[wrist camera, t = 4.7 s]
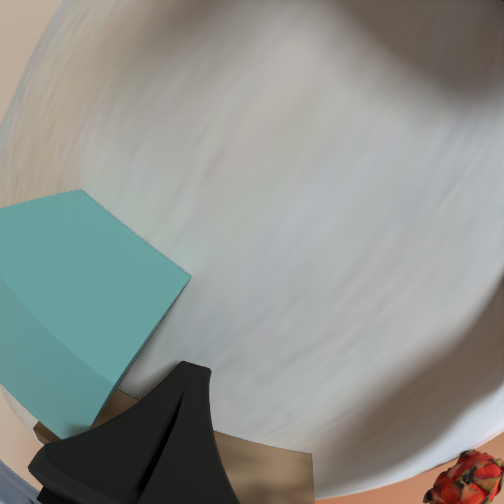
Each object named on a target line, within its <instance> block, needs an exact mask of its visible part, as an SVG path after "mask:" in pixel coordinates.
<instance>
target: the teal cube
mask: <svg viewBox="0 0 504 504" xmlns="http://www.w3.org/2000/svg"><path fill="white" fill-rule="evenodd" d="M190 278H191V275H189V274H188V273H186V272H185V271H184V270H182V269H181V268H180V267H178V266H177V265H176V264H174V263H173V262H172V261H170V260H169V259H168V258H166V257H165V256H164V255H162V254H161V253H160V252H158V251H157V250H156V249H154V248H153V247H152V246H150V245H149V244H148V243H146V242H145V241H144V240H143V239H141V238H140V237H139V236H138V235H136V234H135V233H134V232H132V231H131V230H130V229H129V228H127V227H126V226H125V225H124V224H122V223H121V222H120V221H119V220H117V219H116V218H115V217H114V216H112V215H111V214H110V213H109V212H108V211H106V210H105V209H104V208H103V207H101V206H100V205H99V204H98V203H97V202H95V201H94V200H93V199H92V198H91V197H90V196H88V195H87V194H86V193H85V192H84V191H83V190H81V189H80V190H75V191H70V192H66V193H61V194H56V195H52V196H47V197H43V198H39V199H35V200H31V201H27V202H23V203H19V204H15V205H12V206H8V207H5V208H1V209H0V383H1V384H2V385H3V386H4V387H5V388H6V389H7V390H8V391H9V393H10V394H11V395H12V396H13V397H14V398H15V399H16V400H17V401H18V402H19V403H20V404H21V405H22V406H23V407H25V408H26V409H27V410H28V411H29V412H30V413H31V414H32V415H33V416H34V417H35V418H36V419H38V420H39V421H40V422H41V423H42V424H43V425H45V426H46V427H47V428H48V429H49V430H51V431H52V432H53V433H54V434H56V435H57V436H58V437H59V438H61V439H65V438H69V437H72V436H75V435H78V434H80V433H83V432H85V431H88V430H90V429H91V428H92V427H93V425H94V423H95V422H96V420H97V419H98V417H99V416H100V414H101V412H102V411H103V409H104V408H105V406H106V405H107V403H108V401H109V400H110V398H111V397H112V395H113V394H114V392H115V391H116V389H117V388H118V386H119V385H120V383H121V381H122V380H123V378H124V377H125V375H126V374H127V372H128V371H129V369H130V368H131V366H132V365H133V363H134V362H135V360H136V359H137V357H138V356H139V354H140V353H141V351H142V349H143V348H144V346H145V345H146V343H147V342H148V340H149V339H150V337H151V336H152V334H153V333H154V331H155V330H156V328H157V327H158V325H159V324H160V322H161V321H162V319H163V318H164V316H165V315H166V313H167V312H168V310H169V309H170V307H171V306H172V304H173V303H174V301H175V300H176V298H177V297H178V295H179V294H180V292H181V291H182V290H183V288H184V287H185V285H186V284H187V282H188V281H189V279H190Z"/></svg>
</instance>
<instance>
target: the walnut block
mask: <svg viewBox="0 0 504 504" xmlns="http://www.w3.org/2000/svg"><path fill="white" fill-rule="evenodd" d="M138 402H139V400H137V399H135V398H133V397H131V396H129V395H127V394H126V393H124V392H122V391H120V390H118V389H116V391H115V392H114V394H113V395H112V397H111V398H110V400H109V401H108V403H107V405H106V406H105V408H104V409H103V411H102V412H101V414H100V416H99V417H98V419H97V420H96V422H95V423H94V425H93V427H92V428H91V429H93V428H95V427H97V426H100V425H102V424H104V423H105V422H107V421H109V420H111V419H113V418H115V417H117V416H118V415H120V414H121V413H123V412H125V411H126V410H128V409H129V408H131V407H132V406H133V405H135V404H136V403H138ZM33 430H34V432H35V434H36V436H37V438H38V440H39V441H40V442H42V443H43V444H44V445H45V444H46V443H49V442H54V441H58V440H61V438H59V437H58V436H57V435H56V434H54V433H53V432H52V431H51V430H49V429H48V428H47V427H46V426H45V425H43V424H42V423H41V422H40V421H38V423H37V424H36V425H35V427H34V428H33ZM213 432H214V437H215V441H216V445H217V448H218V452H219V455H220V458H221V461H222V464H223V467H224V469H225V472H226V474H227V477H228V479H229V482H230V484H231V486H232V488H233V490H234V492H235V494H236V496H237V498H238V500H239V502H240V504H314V484H313V466H312V454H306V453H300V452H295V451H289V450H284V449H280V448H275V447H270V446H266V445H262V444H258V443H254V442H250V441H246V440H243V439H239V438H236V437H232V436H229V435H226V434H222V433H219V432H216V431H213Z"/></svg>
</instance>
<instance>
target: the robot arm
mask: <svg viewBox="0 0 504 504" xmlns="http://www.w3.org/2000/svg"><path fill="white" fill-rule="evenodd" d="M211 372H212V371H211V370H210V368H206V367H203V366H199V365H196V364H192V363H189V362H186V361H181V362H180V363H179V364H178V365H177V367H176V368H175V369H174V370H173V371H172V372H171V373H170V374H169V375H168V376H167V377H166V378H165V379H164V380H163V381H162V382H161V383H160V384H159V385H158V386H157V387H156V388H155V389H154V390H153V391H151V392H150V393H149V394H148V395H147V396H145V397H144V398H143V399H141V400H140V401H139V402H138V403H136V404H135V405H133V406H132V407H131V408H129V409H128V410H126V411H125V412H123V413H121V414H120V415H118V416H117V417H115V418H113V419H111V420H109V421H107V422H105V423H104V424H102V425H100V426H97V427H95V428H93V429H90V430H88V431H85V432H83V433H80V434H78V435H75V436H72V437H69V438H65V439H61V440H58V441H54V442H49V443H46V444H45V445H44V446H43V447H42V448H41V449H40V450H39V451H38V452H37V454H36V455H35V457H34V458H33V460H32V461H31V463H30V464H29V466H28V469H29V472H30V473H31V474H32V475H33V476H34V477H35V478H36V479H37V480H38V481H39V482H40V483H41V484H42V485H43V488H42V490H41V491H38V490H37V489H35V488H34V487H33V486H31V485H30V484H29V483H27V482H26V481H25V480H23V479H22V478H21V477H19V476H18V475H17V474H16V473H15V472H14V471H12V470H11V469H10V468H9V467H8V466H6V465H5V464H4V463H3V462H2V461H1V460H0V504H240V502H239V500H238V498H237V496H236V494H235V492H234V490H233V488H232V486H231V484H230V482H229V479H228V477H227V474H226V472H225V469H224V467H223V464H222V461H221V458H220V455H219V452H218V448H217V445H216V441H215V437H214V432H213V427H212V421H211V414H210V403H209V382H210V377H211Z"/></svg>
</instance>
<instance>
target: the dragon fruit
mask: <svg viewBox="0 0 504 504" xmlns="http://www.w3.org/2000/svg"><path fill="white" fill-rule="evenodd" d="M449 470H450V471H449ZM503 477H504V462H503V460H501V459H500V458H499V459H496V460H495V458H494V457H492V456H490V455H488V454H487V453H483V454H481V453H480V452H479V451H475V449H473V450H468V451H467V452H465V453H464V455H463V456H461V457H460V458H459V459H458V461H457V464H456V465H455V466H454V467H452V468H449V469H448V470H447V471H445V472H442V473H441V474H440V475H439V476H438V478H437V479H436V481H435V483H434V485H433V488H431V489H430V490H428V491H427V493H426V494H425V496H424V499H423V503H430V504H490V503H491V502H492V501H493V497H494V496H496V495H498V493H499V492H500V490H501V488H502V486H503V481H504V479H503Z"/></svg>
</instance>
